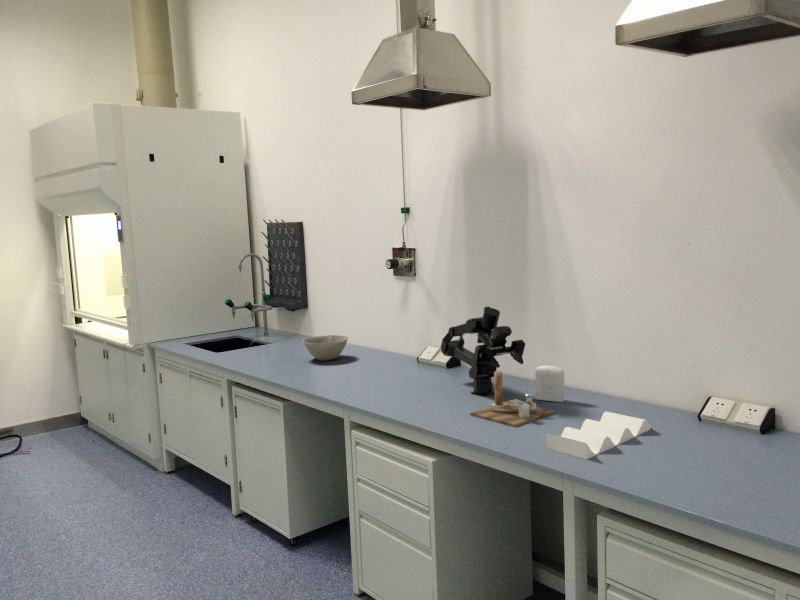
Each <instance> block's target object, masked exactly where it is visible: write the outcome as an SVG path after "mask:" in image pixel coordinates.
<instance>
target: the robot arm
mask: <svg viewBox="0 0 800 600" xmlns="http://www.w3.org/2000/svg"><path fill="white" fill-rule="evenodd" d="M500 314H501V311H500V310H498V309H497V308H492V307H490V306H485V307H484V308H483V314H482V316H481V317H473V318H469V319H467V320H466V321H465V323H462V324H459V325H456V326H451V327H449V328H448V331H447V333H446V334H445V335H444V337H443V338H442V339H441V340H442V341H441V343H440V352H441V353H442V355H444V356H446V357H454V358H457V359H458V360H460V361H462V362H463V363H465V364H466V365H468V366H470V369H469V371H468V376H469V379H472V380H473V391H472V390H471V392H470V393H471V394H472V393H473V394H472V395H476V396H481V397H486V396H489V395H492V394H495V390H493V381H492V378H494V372H495V371H497V368H500V367H501V365H500V363H499V361H498V360H497V359H496V358H495V357H497V356H499V357H500V356H503V355H507V354H509V355H510V356H511V358H512V359H513V360H514V361H516V362H517V363H519V364H520V365H523V364H524V359H523V355H524V351H525V347H526V343H525V341H524V340H523V339H518V340H517V339H516V340H512V341H511V344H510V346H507V345H506V344H507V343H508V341H507V338H508V337H509V336H511V334H512V332H513V330H512V328H511V327H510V326H509V325H506V326H505V325H500V326H498V323H499V320H500V319H499V318H500ZM467 334H468V335H469V334H470V335H473V334H477V340H476V341H477V344H479V345H476V346H475V348H474V352H472V351H471V350H469V349H467V348H465V347H464V346H465V340H464V335H467ZM455 337H459V338H458V339H453V338H455Z"/></svg>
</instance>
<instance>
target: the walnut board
mask: <svg viewBox="0 0 800 600" xmlns="http://www.w3.org/2000/svg"><path fill="white" fill-rule="evenodd" d="M503 404H511V403H510V400H508V401H505V402H504V401H503ZM554 414H555V410H552V409H547V408H543V407H540V406H539V407H538V406H536V412H535V413H529V418H526V419H522V418H520V417H519V412H507V411H491V406H488V407H485V408H482V409H478V410H476V411H475V410H474V411H472V412H470V413H469V415H470V416H473V417H476V418H479V419H483V420H487V421H491V422H494V423H497V424H498V423H499V424H502V425H505V426H508V427H513V428H516V427H518V426H521V425H522V426H523V425H524V424H528V423H531V422H533V421H536V420H539V419H541V418H545V417H548V416H550V415H554Z"/></svg>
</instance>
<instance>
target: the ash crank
mask: <svg viewBox="0 0 800 600" xmlns="http://www.w3.org/2000/svg"><path fill="white" fill-rule="evenodd" d="M493 378H494V392H495V393H494V402H492V403H491V404H490V407H491V411H507V412H519V407H518V406H516V405H514V404H503V403H504V400H503V399H504V398H503V397H504V393H503V392H504V391H503V371H502V370H496V371H495V372H494V377H493ZM525 403H527V401H526V402H525ZM536 407H537V403H536V402H533V401H532V404H530V405H529V413H535V412H536Z"/></svg>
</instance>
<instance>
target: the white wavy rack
mask: <svg viewBox="0 0 800 600" xmlns="http://www.w3.org/2000/svg"><path fill="white" fill-rule="evenodd" d="M650 429H651V430H653V428H652V426H651V425H650V423H649V421H648V420H647V419H645V418H640V417H635V416H629V415H626V414H625V415H624V414H620V413H616V412H612V411H611V412H610V411H604V412H603V413H602V415H601V418H600V419H599V421H598V420H594V419H590V418H585V420H584V421H583V423H582V425H581V428H580V429H578V428H575V427H570V426H569V427H568V426H566V427H564V429H563V431H562V433H561V434H560V435H556V434H551V433H549V432H545V448H546V449H548V450H552V451H555V452H558V453H562V454H566V455H568V456H572V457H577V458H579V459H580V458H581V459H583V460H584V459H585V460H589V459H591V458H593V457H595V456H598V455H599V454H602V453H604V452H606V451H608V450H610V449H612V448H614V447H617V446H619V445H621V444H623V443H625V442H627V441H629V440H632V439H635V438H636V437H637V436H640V435H642V433H643V434H645V433H647V432H649V431H651V430H650ZM648 430H649V431H648ZM646 431H647V432H646ZM644 432H645V433H644Z"/></svg>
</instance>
